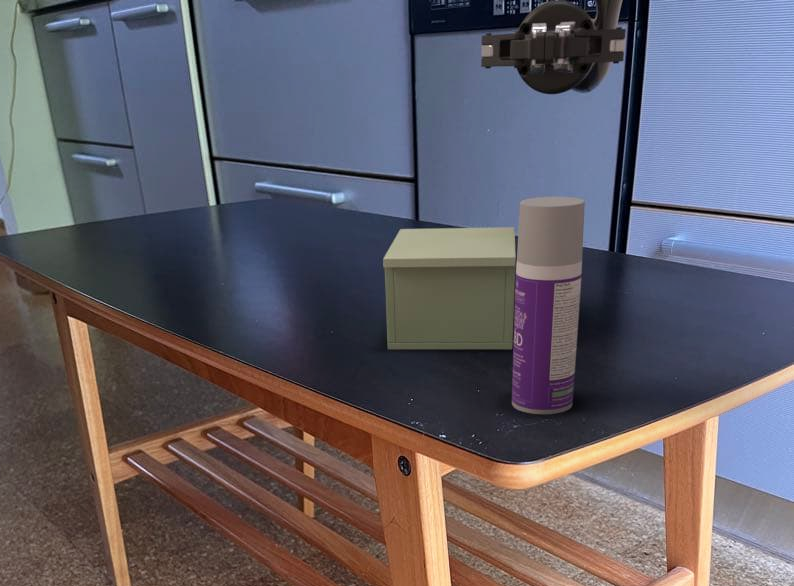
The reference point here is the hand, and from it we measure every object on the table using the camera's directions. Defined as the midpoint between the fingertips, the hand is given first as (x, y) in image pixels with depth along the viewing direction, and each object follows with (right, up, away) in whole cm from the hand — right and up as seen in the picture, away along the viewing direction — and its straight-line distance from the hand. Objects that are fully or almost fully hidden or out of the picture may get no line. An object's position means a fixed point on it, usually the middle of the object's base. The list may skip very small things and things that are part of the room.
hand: (545, 48), depth 69 cm
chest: (-6, -18, +19) cm, 26 cm away
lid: (-6, -11, +14) cm, 19 cm away
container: (0, -28, 0) cm, 28 cm away
